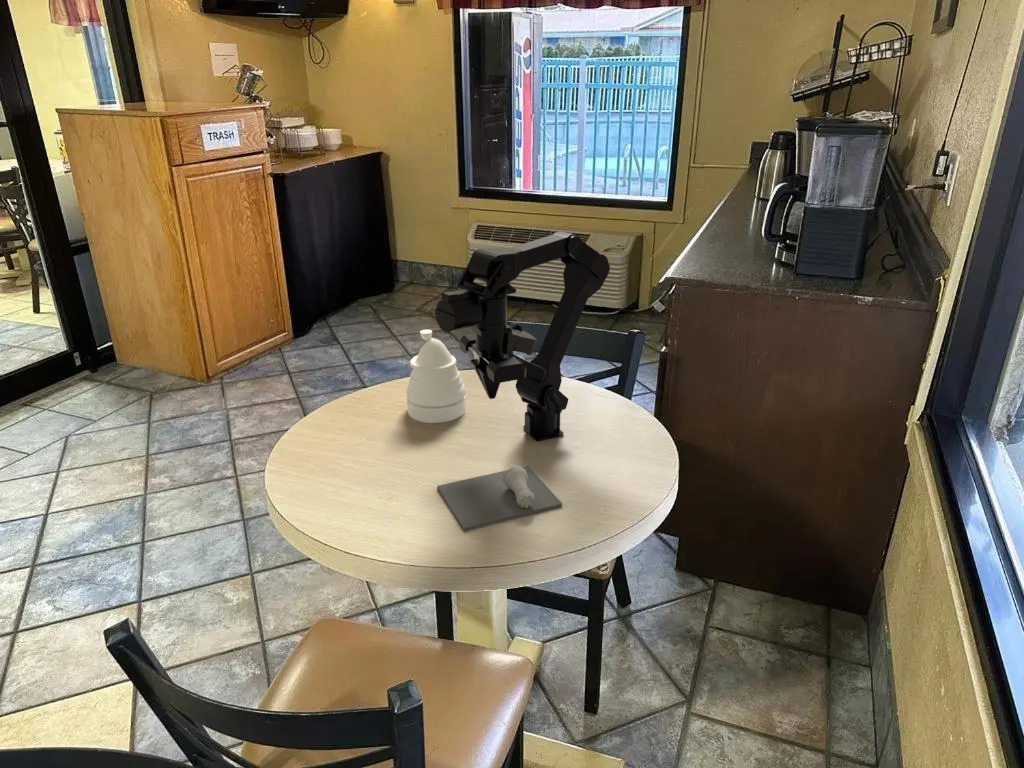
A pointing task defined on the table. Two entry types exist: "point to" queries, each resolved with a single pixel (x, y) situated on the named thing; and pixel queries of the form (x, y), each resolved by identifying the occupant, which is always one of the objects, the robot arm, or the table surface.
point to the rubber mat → (493, 499)
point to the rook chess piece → (519, 485)
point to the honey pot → (435, 384)
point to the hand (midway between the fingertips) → (491, 398)
